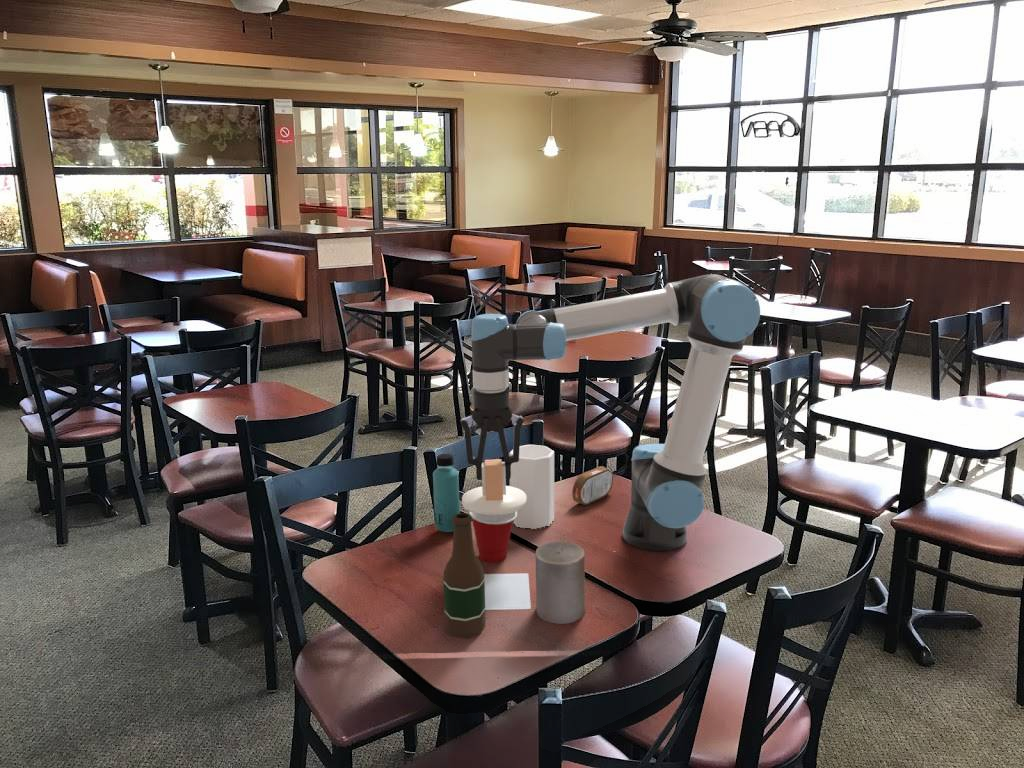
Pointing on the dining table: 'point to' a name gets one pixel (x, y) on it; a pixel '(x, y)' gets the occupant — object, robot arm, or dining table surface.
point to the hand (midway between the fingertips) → (494, 492)
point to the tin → (592, 485)
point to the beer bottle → (464, 584)
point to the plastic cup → (493, 535)
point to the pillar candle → (560, 582)
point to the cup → (534, 485)
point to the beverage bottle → (445, 493)
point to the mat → (507, 591)
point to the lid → (494, 494)
